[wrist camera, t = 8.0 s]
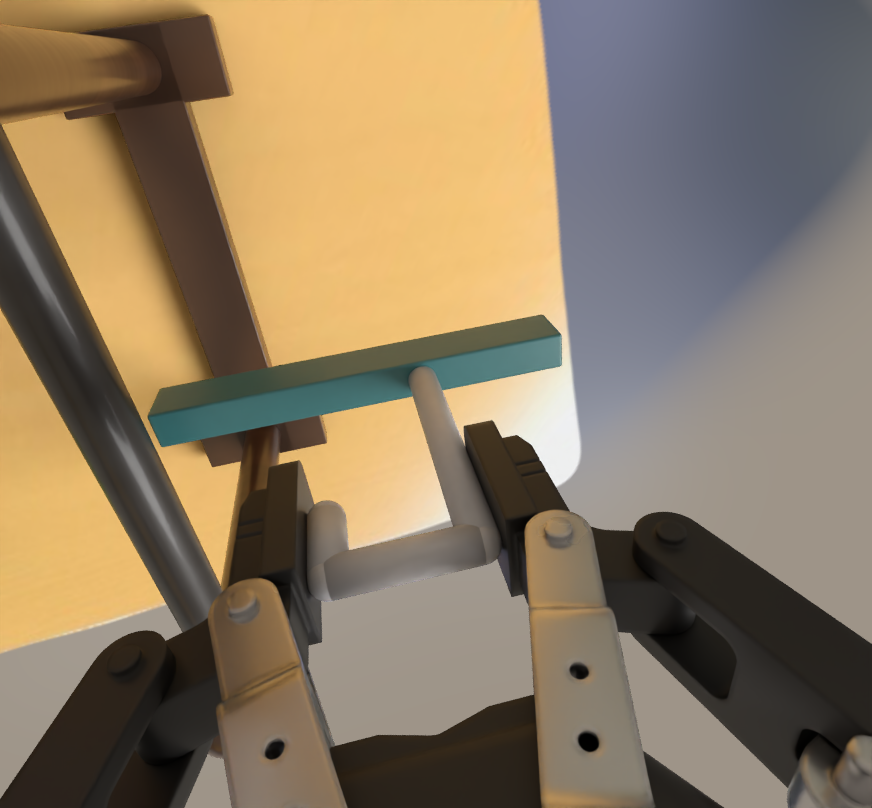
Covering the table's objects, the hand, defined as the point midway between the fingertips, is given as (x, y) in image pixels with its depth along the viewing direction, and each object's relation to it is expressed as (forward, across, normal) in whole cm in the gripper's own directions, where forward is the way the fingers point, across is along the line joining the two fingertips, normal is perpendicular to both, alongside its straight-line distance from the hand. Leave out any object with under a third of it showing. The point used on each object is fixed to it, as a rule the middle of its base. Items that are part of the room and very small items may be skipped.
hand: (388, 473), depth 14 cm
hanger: (+6, 0, 0) cm, 6 cm away
